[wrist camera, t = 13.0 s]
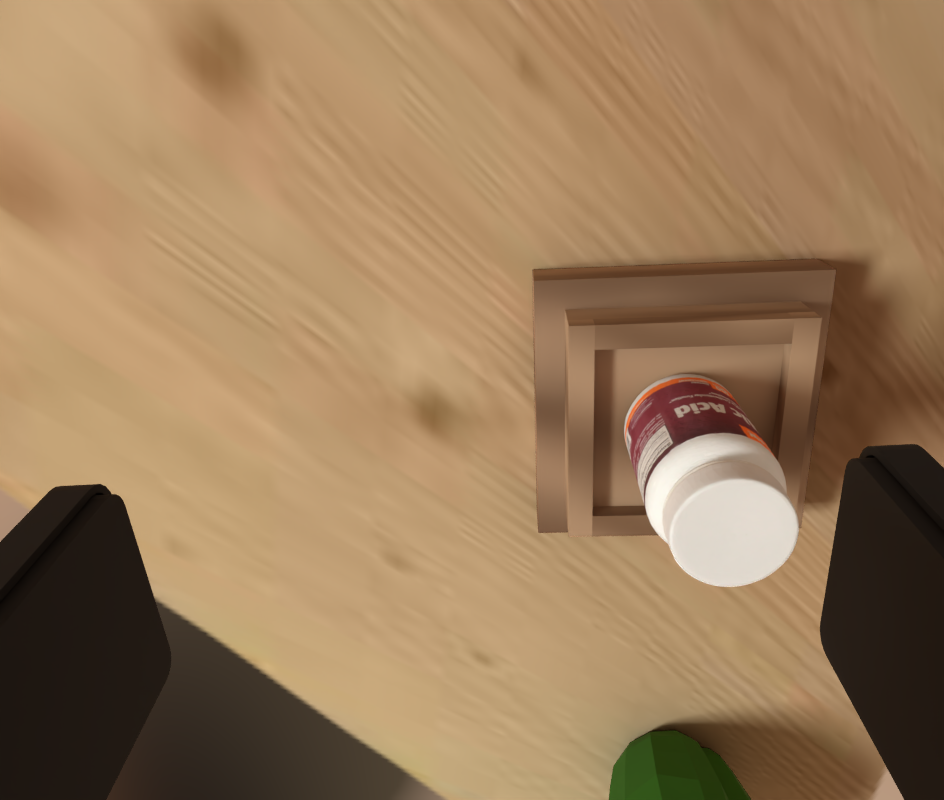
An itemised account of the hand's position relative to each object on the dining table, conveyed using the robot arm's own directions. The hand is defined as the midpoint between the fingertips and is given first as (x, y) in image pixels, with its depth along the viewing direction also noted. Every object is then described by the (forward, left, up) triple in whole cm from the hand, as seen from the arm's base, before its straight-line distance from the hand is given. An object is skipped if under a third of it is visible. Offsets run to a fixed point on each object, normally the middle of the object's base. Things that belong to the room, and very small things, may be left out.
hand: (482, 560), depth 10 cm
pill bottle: (+8, +7, -21) cm, 23 cm away
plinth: (+8, +7, -24) cm, 26 cm away
